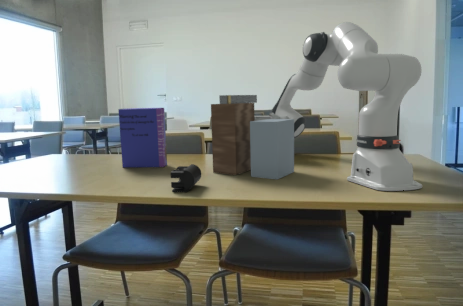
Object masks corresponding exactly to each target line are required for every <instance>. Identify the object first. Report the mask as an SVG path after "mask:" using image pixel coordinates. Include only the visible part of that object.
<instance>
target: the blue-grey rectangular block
mask: <svg viewBox="0 0 463 306" xmlns="http://www.w3.org/2000/svg"><path fill="white" fill-rule="evenodd" d="M250 151H251V170H250V177H251V178H261V179H269V180H279V179H281V178H283V177H286V176H288V175H290V174H293V173H294V172H295V139H294V119H265V120H258V121H250Z"/></svg>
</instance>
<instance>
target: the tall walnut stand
mask: <svg viewBox="0 0 463 306" xmlns="http://www.w3.org/2000/svg"><path fill="white" fill-rule="evenodd" d="M254 114H255V103H236V104H220V103H211V104H210V116H211V117H210V119H211V144H212V145H211V148H212V152H211V153H212V172H213V174H224V175H231V176H237V175H240V174H243V173H246V172H248V171H251V151H250V121H255V118H254V116H255V115H254Z"/></svg>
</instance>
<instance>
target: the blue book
mask: <svg viewBox="0 0 463 306" xmlns="http://www.w3.org/2000/svg"><path fill="white" fill-rule="evenodd" d="M165 116H166V115H165V107H138V108H137V107H135V108H132V107H131V108H119V109H118V124H119V136H120V137H119V138H120V150H121V151H120V152H121V164H122V168H126V169H128V168H131V169H132V168H133V169H134V168H142V169H143V168H144V169H145V168H146V169H147V168H165V167H167V166H168V154H167V138H166V137H167V135H166V119H165V118H166V117H165Z"/></svg>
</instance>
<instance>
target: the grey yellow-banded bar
mask: <svg viewBox="0 0 463 306" xmlns="http://www.w3.org/2000/svg"><path fill="white" fill-rule="evenodd" d="M257 102H258V96H257V94H233V95H232V94H228V95H227V94H223V95H221V94H220V95H219V104H236V103H254V104H255V103H256V104H257Z"/></svg>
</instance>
